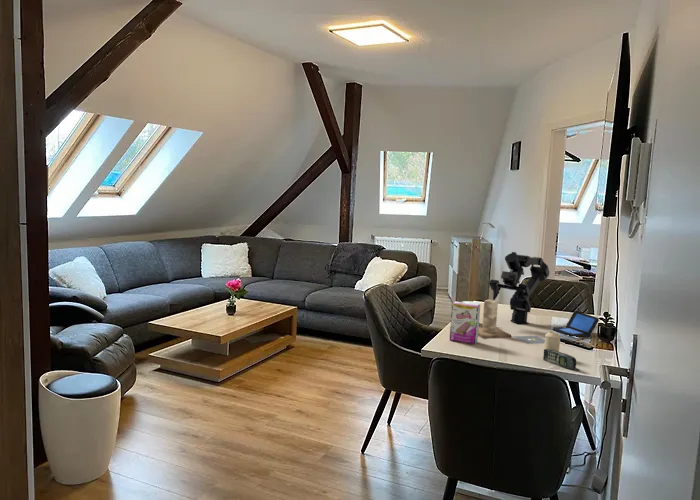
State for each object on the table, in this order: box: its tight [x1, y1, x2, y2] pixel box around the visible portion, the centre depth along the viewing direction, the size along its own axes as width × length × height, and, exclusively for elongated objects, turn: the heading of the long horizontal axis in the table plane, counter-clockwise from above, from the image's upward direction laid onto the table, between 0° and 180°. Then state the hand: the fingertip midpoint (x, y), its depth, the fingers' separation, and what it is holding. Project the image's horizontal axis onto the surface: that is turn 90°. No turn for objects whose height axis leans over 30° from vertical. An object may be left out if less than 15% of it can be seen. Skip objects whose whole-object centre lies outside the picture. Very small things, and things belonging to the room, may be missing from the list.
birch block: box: [482, 299, 499, 333], centre depth 241 cm, size 4×4×14 cm
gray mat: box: [512, 335, 545, 345], centre depth 235 cm, size 12×12×1 cm
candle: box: [543, 330, 561, 352], centre depth 210 cm, size 6×6×10 cm
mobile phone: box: [542, 348, 581, 372], centre depth 199 cm, size 5×3×15 cm
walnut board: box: [478, 326, 512, 339], centre depth 242 cm, size 14×14×1 cm
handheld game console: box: [552, 310, 600, 338], centre depth 249 cm, size 16×13×9 cm
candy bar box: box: [449, 300, 481, 345], centre depth 226 cm, size 11×5×16 cm, turn 65°
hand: (502, 301), depth 250 cm, fingers open, 9 cm apart
